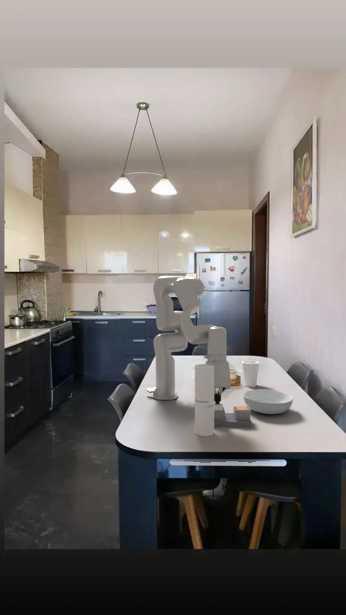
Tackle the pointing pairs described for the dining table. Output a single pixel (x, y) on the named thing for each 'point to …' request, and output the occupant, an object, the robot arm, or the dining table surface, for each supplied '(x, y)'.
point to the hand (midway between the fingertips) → (217, 403)
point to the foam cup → (250, 372)
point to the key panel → (232, 418)
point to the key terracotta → (241, 408)
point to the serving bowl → (268, 401)
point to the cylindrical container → (204, 399)
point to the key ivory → (218, 407)
